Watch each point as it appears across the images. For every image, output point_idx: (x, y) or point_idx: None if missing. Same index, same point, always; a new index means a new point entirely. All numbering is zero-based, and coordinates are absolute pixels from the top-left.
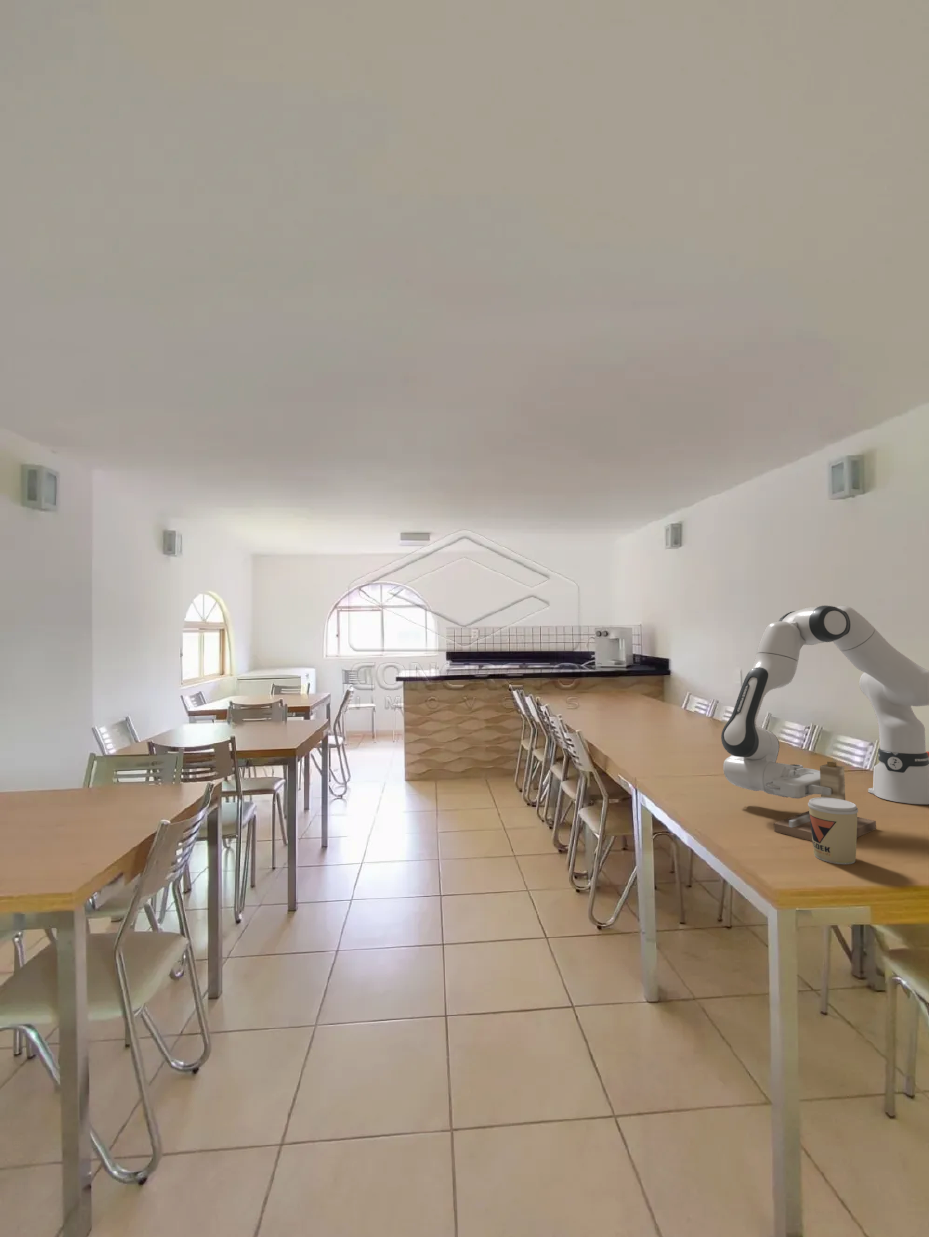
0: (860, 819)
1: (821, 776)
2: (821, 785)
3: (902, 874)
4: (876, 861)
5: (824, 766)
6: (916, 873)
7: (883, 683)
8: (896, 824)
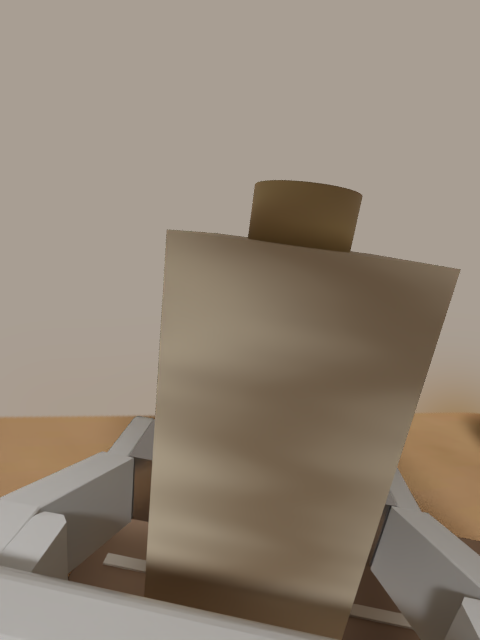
0: (138, 526)
1: (396, 428)
2: (363, 540)
3: (470, 428)
4: (469, 465)
5: (411, 261)
6: (433, 415)
7: None
8: (13, 460)
